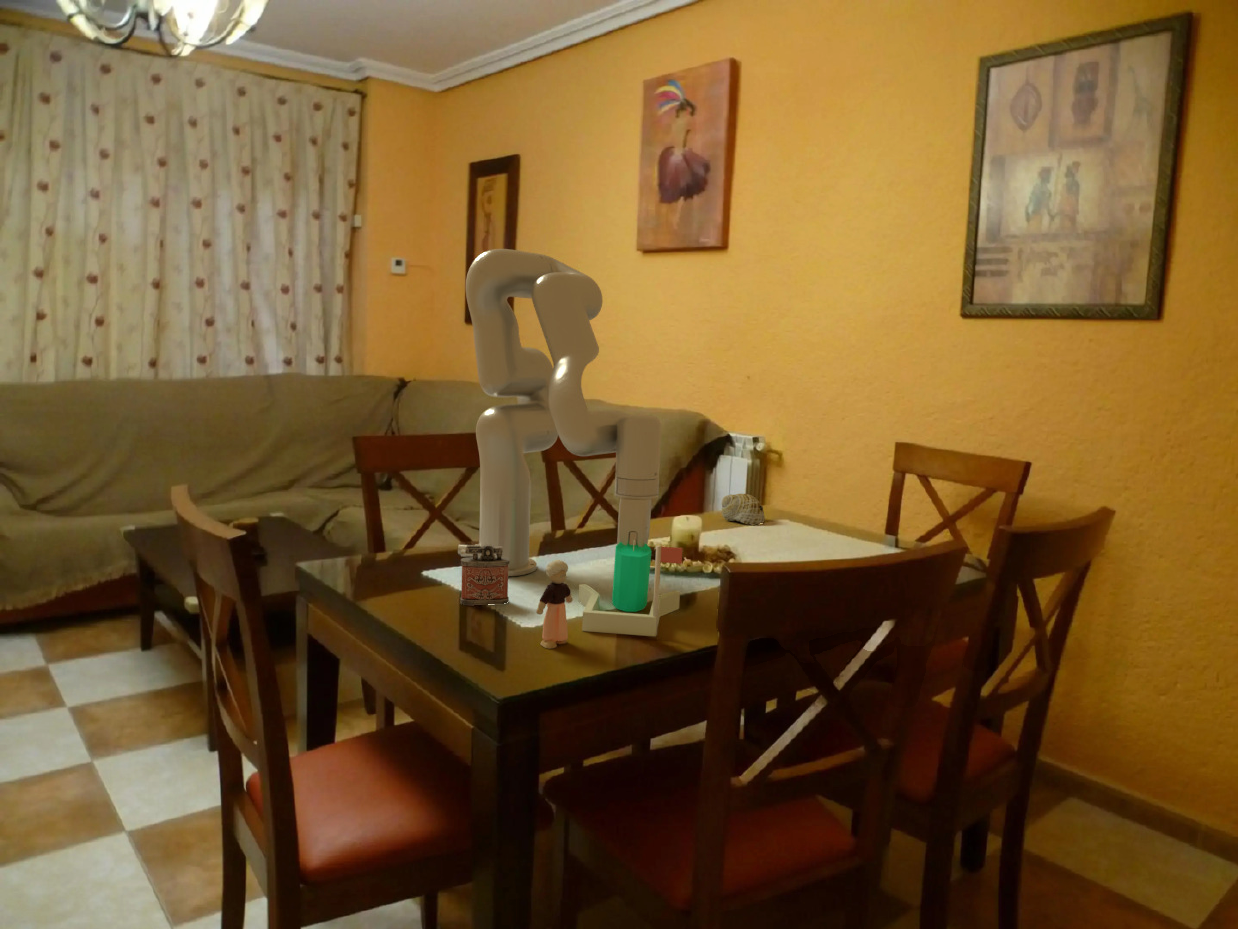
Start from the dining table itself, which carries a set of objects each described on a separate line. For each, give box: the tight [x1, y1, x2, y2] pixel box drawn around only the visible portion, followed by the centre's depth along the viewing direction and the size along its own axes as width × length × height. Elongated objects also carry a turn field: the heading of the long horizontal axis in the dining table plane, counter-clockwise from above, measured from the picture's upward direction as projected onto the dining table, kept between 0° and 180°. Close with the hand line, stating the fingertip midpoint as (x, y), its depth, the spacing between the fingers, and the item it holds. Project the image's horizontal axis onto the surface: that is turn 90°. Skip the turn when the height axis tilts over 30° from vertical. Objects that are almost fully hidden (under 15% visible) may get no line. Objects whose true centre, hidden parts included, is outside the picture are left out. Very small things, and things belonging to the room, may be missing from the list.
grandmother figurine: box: [535, 558, 573, 650], centre depth 134 cm, size 8×4×13 cm, turn 156°
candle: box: [611, 540, 652, 613], centre depth 151 cm, size 6×6×12 cm
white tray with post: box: [578, 545, 683, 637], centre depth 146 cm, size 18×16×14 cm
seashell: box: [721, 493, 766, 526], centre depth 228 cm, size 10×10×10 cm
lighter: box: [459, 544, 510, 606], centre depth 152 cm, size 8×3×10 cm, turn 100°
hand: (632, 591), depth 157 cm, fingers closed
